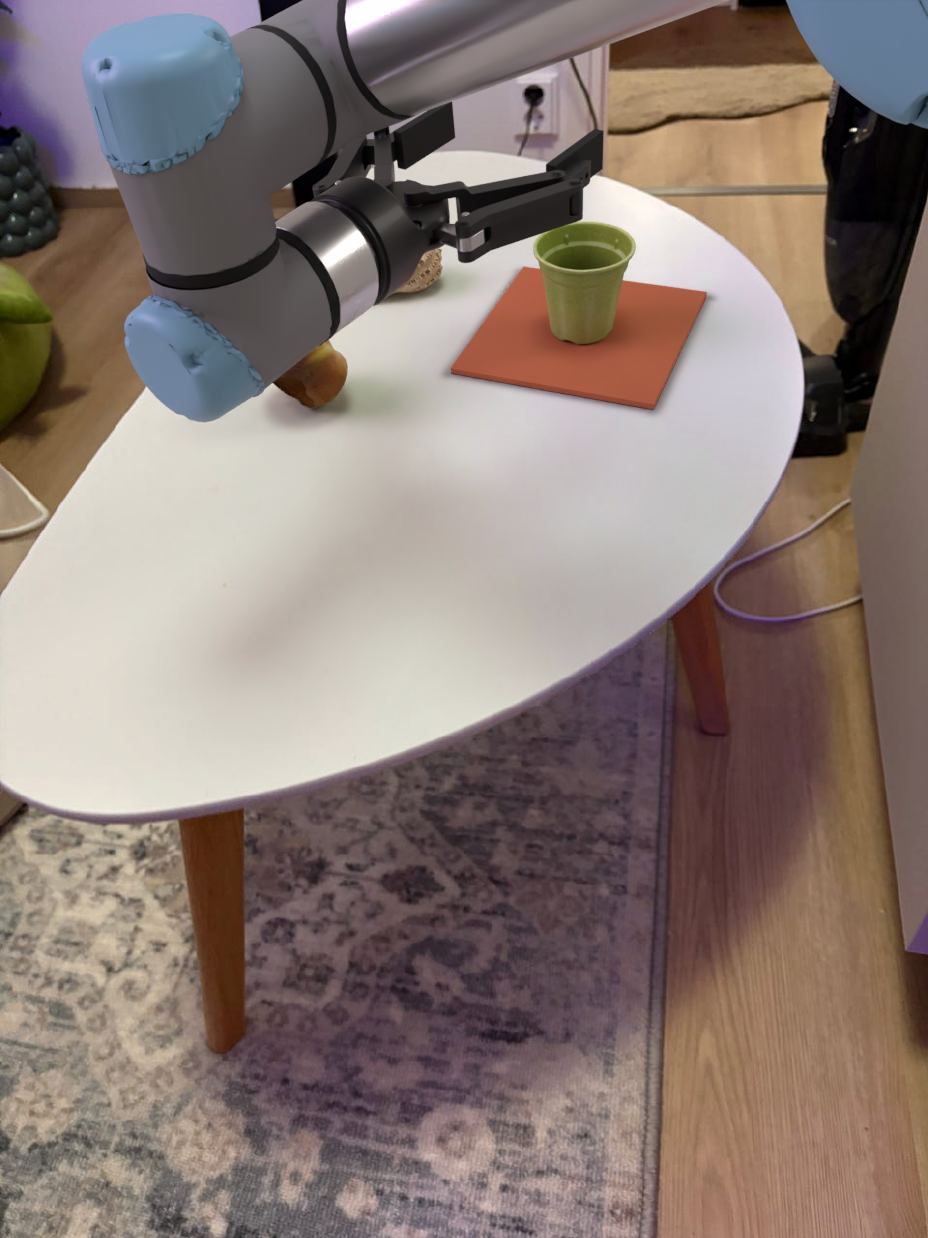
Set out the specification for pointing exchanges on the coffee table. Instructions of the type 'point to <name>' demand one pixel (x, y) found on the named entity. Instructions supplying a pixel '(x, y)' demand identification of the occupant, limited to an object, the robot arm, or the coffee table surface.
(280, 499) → the coffee table surface
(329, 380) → the fruit
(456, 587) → the coffee table surface
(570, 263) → the plant pot
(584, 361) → the terracotta mat
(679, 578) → the coffee table surface
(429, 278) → the seashell
